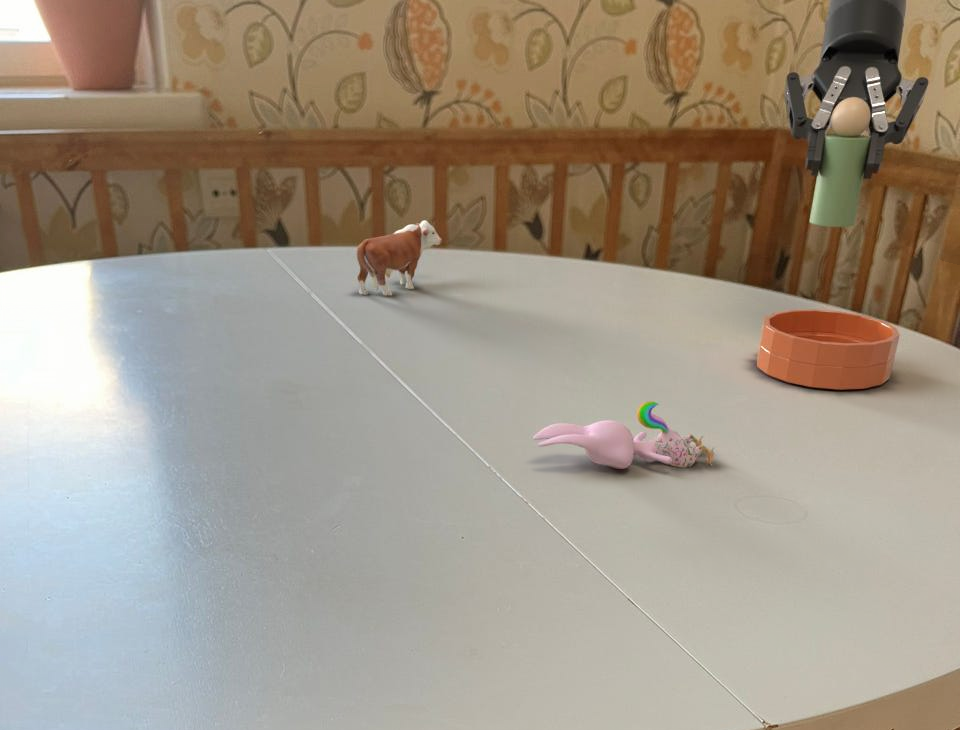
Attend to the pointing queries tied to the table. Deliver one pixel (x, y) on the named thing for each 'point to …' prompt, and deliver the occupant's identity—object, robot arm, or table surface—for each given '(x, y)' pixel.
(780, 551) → the table surface
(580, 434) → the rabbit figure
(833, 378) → the bowl
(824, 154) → the doll
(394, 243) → the bull figurine
